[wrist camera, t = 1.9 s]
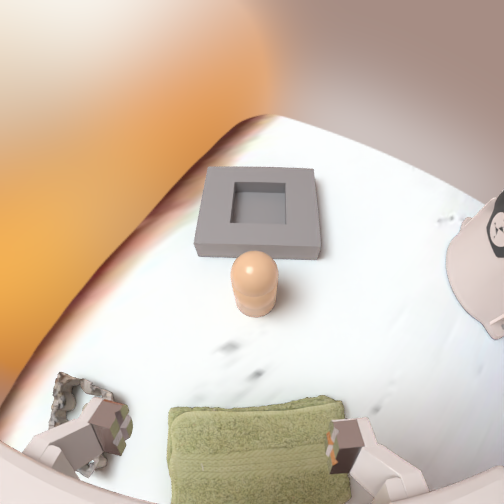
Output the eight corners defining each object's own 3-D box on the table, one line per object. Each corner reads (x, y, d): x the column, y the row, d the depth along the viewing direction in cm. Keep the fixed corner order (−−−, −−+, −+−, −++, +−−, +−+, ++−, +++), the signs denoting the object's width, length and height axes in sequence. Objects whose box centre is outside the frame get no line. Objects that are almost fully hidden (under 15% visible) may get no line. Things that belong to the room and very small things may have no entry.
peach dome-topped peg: (276, 280, 34) (279, 242, 27) (275, 317, 32) (279, 287, 25) (236, 279, 34) (230, 240, 27) (234, 316, 32) (226, 286, 25)
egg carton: (77, 372, 29) (58, 365, 25) (129, 398, 28) (112, 395, 24) (55, 447, 24) (34, 447, 20) (105, 478, 23) (87, 483, 19)
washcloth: (167, 405, 28) (158, 404, 25) (337, 392, 28) (346, 390, 25) (177, 515, 21) (169, 524, 18) (348, 502, 21) (357, 511, 19)
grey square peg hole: (310, 184, 41) (313, 168, 39) (317, 259, 35) (321, 246, 33) (211, 181, 42) (208, 166, 39) (198, 256, 36) (193, 243, 33)
